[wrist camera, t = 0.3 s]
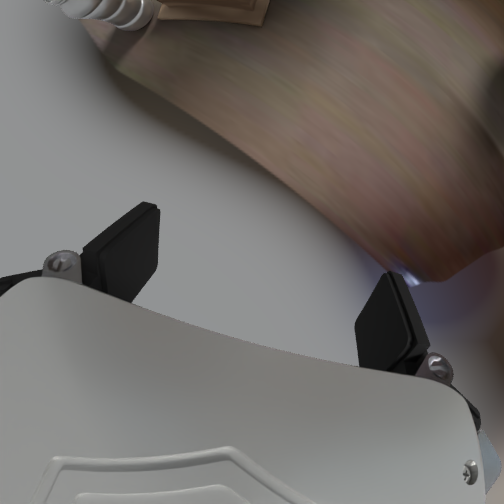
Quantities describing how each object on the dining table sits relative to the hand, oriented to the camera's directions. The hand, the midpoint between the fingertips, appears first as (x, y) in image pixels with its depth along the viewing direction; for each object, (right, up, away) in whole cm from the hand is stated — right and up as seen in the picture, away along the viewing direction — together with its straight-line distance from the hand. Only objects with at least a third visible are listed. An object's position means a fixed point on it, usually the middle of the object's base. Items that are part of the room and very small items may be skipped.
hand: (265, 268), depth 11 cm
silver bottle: (-18, +38, +18) cm, 46 cm away
